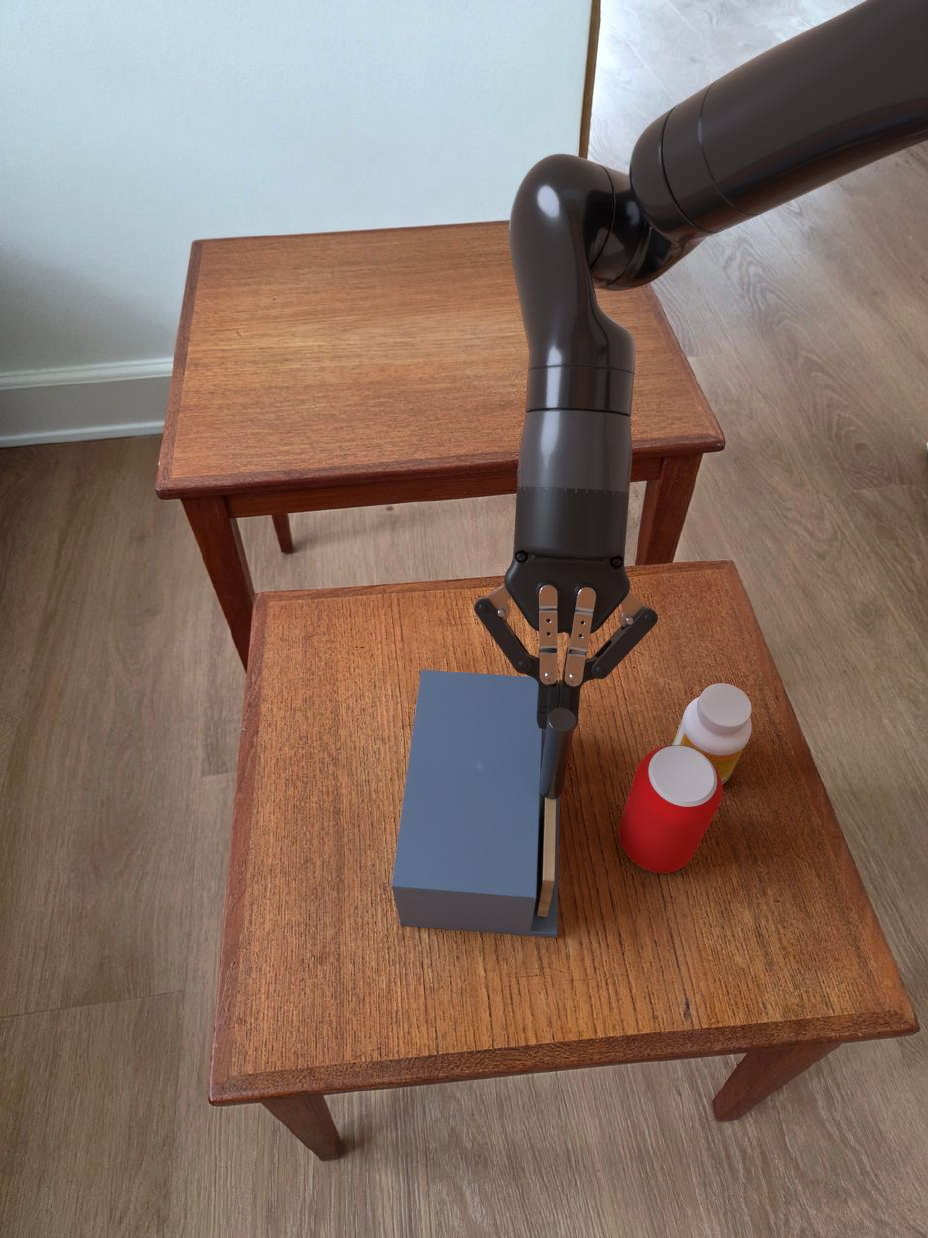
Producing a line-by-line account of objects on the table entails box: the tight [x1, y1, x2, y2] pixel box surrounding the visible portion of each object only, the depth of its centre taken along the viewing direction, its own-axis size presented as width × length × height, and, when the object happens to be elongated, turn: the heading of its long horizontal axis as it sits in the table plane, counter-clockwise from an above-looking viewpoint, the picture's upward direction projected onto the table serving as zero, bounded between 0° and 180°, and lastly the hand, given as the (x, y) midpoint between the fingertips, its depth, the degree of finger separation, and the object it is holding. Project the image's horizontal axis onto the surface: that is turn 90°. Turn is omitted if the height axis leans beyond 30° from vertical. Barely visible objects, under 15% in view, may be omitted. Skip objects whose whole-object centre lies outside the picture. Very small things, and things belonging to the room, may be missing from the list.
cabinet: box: [390, 669, 561, 939], centre depth 67 cm, size 12×18×9 cm, turn 175°
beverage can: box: [618, 744, 723, 874], centre depth 65 cm, size 6×6×12 cm
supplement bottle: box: [671, 682, 753, 785], centre depth 70 cm, size 5×5×10 cm
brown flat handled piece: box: [537, 708, 576, 917], centre depth 60 cm, size 2×8×18 cm, turn 175°
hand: (556, 734), depth 59 cm, fingers closed
